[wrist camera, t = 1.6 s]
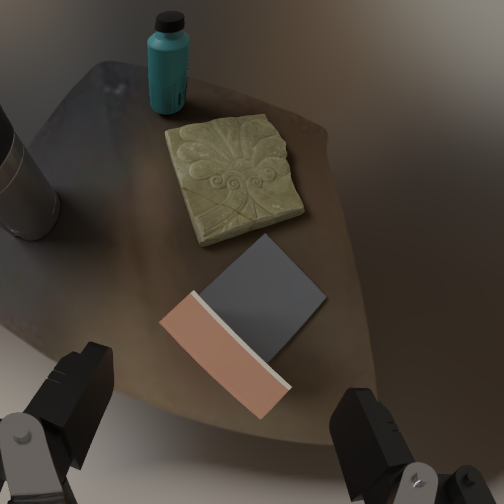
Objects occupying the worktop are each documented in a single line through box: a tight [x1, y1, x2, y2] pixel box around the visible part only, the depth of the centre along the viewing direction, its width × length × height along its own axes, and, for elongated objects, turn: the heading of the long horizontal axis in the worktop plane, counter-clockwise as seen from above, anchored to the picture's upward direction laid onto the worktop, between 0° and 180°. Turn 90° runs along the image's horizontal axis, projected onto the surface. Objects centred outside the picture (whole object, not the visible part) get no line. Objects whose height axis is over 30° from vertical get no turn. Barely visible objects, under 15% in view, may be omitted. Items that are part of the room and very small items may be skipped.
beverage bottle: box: [147, 11, 190, 114], centre depth 37 cm, size 6×7×20 cm
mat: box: [199, 233, 326, 364], centre depth 40 cm, size 14×13×1 cm
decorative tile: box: [165, 114, 305, 247], centre depth 45 cm, size 19×20×4 cm
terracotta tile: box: [159, 290, 292, 419], centre depth 30 cm, size 4×12×15 cm, turn 46°
